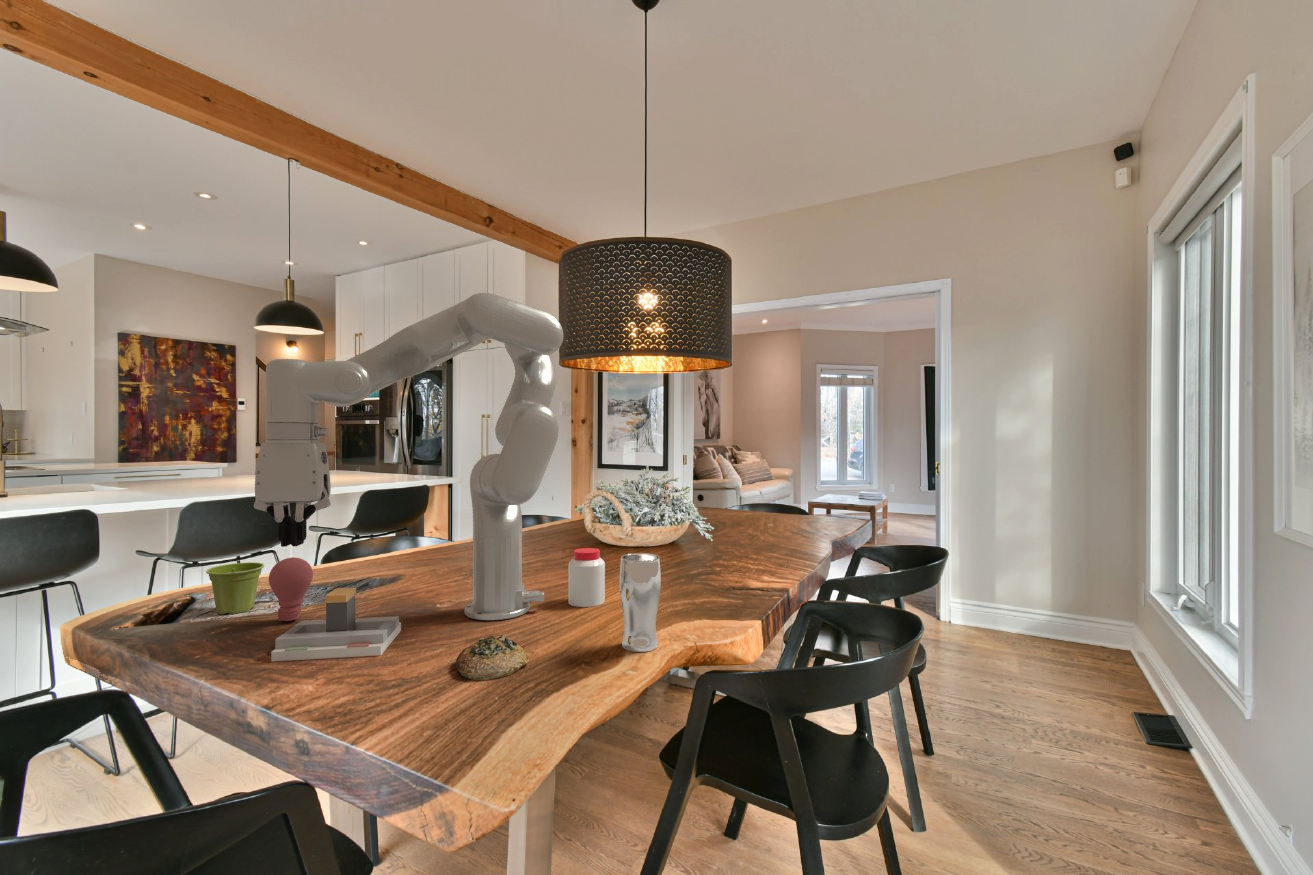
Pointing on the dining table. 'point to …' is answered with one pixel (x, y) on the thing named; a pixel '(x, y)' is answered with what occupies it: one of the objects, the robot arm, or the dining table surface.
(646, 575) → the beer glass
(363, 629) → the switch panel
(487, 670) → the bread roll
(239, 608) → the plant pot
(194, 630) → the dining table surface
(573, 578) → the pill bottle
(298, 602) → the light bulb
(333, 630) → the breaker handle
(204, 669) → the dining table surface
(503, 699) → the dining table surface
